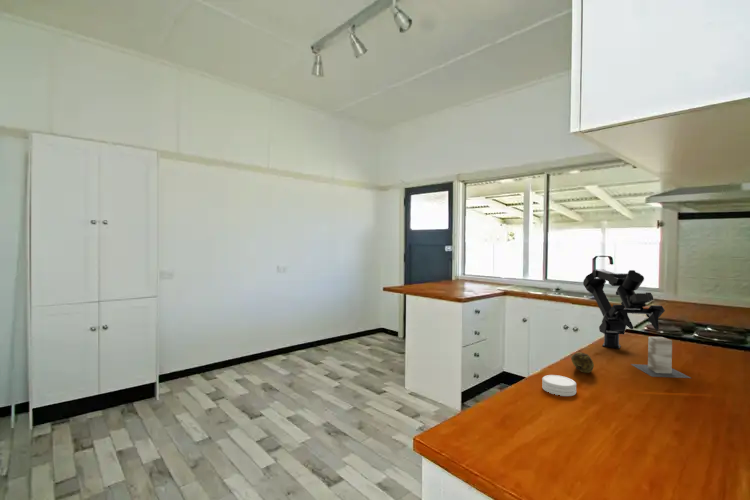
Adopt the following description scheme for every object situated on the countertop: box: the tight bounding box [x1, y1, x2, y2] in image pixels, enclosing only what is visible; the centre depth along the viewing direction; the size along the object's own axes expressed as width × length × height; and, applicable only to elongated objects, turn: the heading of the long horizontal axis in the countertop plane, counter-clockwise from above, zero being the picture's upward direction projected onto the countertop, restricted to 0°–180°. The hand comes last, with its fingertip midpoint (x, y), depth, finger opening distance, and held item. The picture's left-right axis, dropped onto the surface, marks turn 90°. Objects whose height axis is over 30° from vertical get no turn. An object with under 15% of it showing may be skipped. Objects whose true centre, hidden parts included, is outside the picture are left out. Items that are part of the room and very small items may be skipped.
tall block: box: [647, 336, 673, 373], centre depth 133 cm, size 5×5×12 cm
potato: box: [570, 351, 595, 374], centre depth 134 cm, size 8×13×8 cm, turn 133°
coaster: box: [541, 374, 577, 397], centre depth 118 cm, size 10×10×4 cm
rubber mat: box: [630, 363, 692, 379], centre depth 133 cm, size 13×13×1 cm
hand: (645, 329), depth 142 cm, fingers open, 9 cm apart
